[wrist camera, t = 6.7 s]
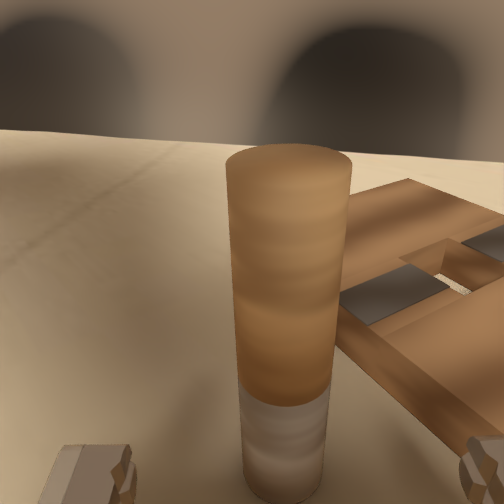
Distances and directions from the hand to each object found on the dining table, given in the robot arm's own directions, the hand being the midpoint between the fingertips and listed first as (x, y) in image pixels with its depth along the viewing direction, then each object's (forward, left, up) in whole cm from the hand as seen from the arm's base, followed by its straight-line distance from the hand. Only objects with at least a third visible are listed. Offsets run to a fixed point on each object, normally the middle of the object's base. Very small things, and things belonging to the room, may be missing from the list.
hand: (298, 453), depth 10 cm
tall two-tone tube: (-4, +3, -8) cm, 10 cm away
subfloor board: (-8, +19, -8) cm, 22 cm away
